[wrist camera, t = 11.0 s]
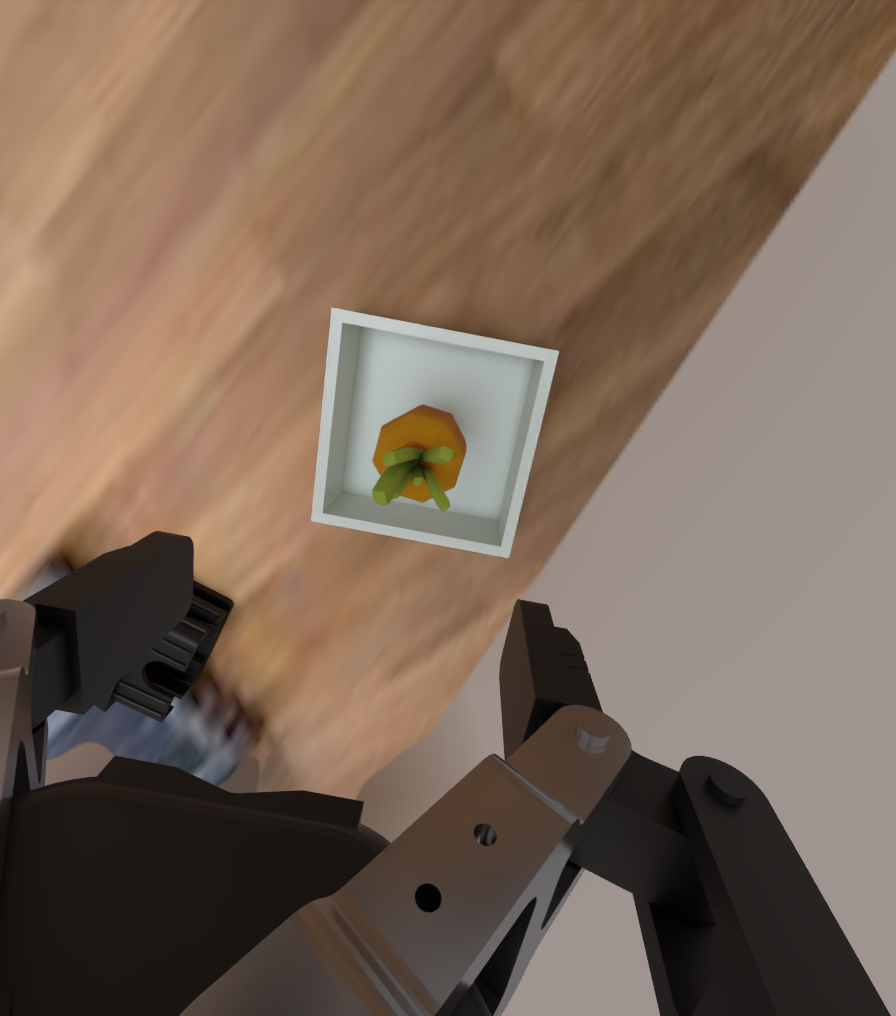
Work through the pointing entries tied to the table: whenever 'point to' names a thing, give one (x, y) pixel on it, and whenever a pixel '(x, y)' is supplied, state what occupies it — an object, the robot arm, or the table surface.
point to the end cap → (173, 658)
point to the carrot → (418, 457)
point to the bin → (442, 385)
